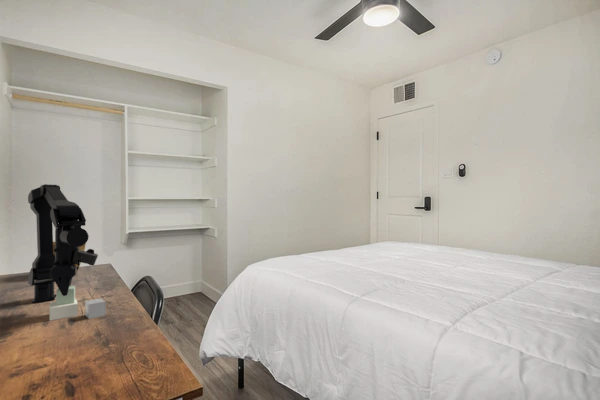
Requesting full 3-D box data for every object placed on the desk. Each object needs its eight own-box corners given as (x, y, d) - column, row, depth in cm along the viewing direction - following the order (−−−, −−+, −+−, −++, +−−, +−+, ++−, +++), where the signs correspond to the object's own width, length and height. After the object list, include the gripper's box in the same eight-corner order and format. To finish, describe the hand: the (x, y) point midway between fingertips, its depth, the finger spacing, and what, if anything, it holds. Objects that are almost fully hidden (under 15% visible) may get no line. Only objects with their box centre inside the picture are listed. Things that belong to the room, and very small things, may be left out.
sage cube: (58, 301, 104) (58, 287, 104) (75, 299, 106) (75, 285, 106) (56, 305, 100) (56, 290, 100) (74, 303, 102) (74, 288, 102)
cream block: (49, 315, 103) (49, 302, 103) (76, 310, 107) (76, 298, 107) (49, 321, 97) (49, 308, 97) (77, 316, 101) (77, 303, 101)
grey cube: (85, 315, 102) (85, 301, 102) (101, 312, 105) (101, 298, 105) (88, 319, 99) (88, 304, 99) (105, 315, 102) (105, 301, 102)
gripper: (95, 245, 99) (95, 296, 99) (97, 239, 115) (97, 283, 115) (49, 248, 93) (49, 302, 93) (58, 241, 109) (58, 287, 109)
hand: (66, 292), depth 103 cm, fingers open, 6 cm apart
